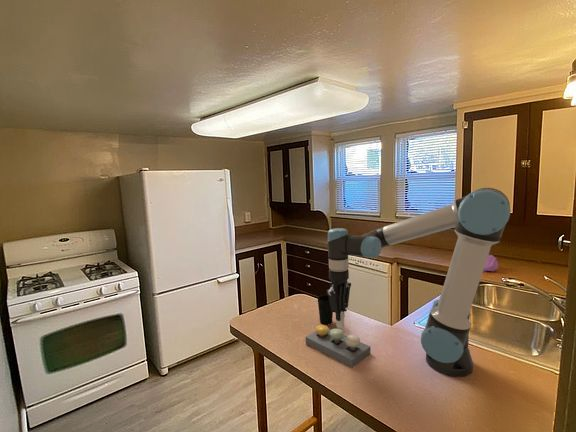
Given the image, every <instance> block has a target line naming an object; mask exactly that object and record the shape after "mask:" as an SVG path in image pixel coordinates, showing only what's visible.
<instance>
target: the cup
mask: <svg viewBox="0 0 576 432" xmlns="http://www.w3.org/2000/svg"><path fill="white" fill-rule="evenodd" d="M317 305H318V315H319V323H320V325H323V324H324V325H326V326H329V325H328V324H330V325H332V324H333V313H334V312H332V311H331V306H330V301H329V297H328V294H320V295H318V296H317ZM331 323H332V324H331Z"/></svg>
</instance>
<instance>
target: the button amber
mask: <svg viewBox="0 0 576 432" xmlns="http://www.w3.org/2000/svg"><path fill="white" fill-rule="evenodd" d="M328 326H329V325H323V324H319V325H316V327H315V331H316V333H317V334H318V335H319V336H320V337H321V338H325V335H327V334H328V333H329V329H330V328H329V327H328Z"/></svg>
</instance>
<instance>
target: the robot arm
mask: <svg viewBox="0 0 576 432" xmlns="http://www.w3.org/2000/svg"><path fill="white" fill-rule="evenodd" d="M510 205H511V204H510V201H509V198H508V196H507V195H506V194H505V193H504V192H502V191H501V190H499V189H497V188H493V187H482V188H479V189H476V190H475V191H472V192H469V193H468V194H467V195H465V196H462V197H460V198H458V199H455V200H454V201H453V203H451V204H450V205H445V206H442V207H440V208H437V209H434V210H431V211H428V212H425V213H422V214H418V215H415V216H413V217H410V218H406V219H403V220H400V221H397V222H395V223H391V224H388V225H385V226H382V227H379V228H375V229H372V230H370V231H369V232H366V233H364V234H362V235H355V234H354V235H353V234H352V235H351V234H349V233H348V231H349V230H348V229H346V228H343V227H341V228H339V227H336V228H332V229H329V230H328V231H327V251H328V252H327V253H328V255H327V256H328V268H329V269H328V279H329V281H330V288H329V289H327V290H326V291H325V293H326V295H328V297H329V301H330V306H331V311H332V312H333V313H335V321H336V328H337V329H341V330H343V329H345V317H346V316H345V313H346V312H347V311H348V310H347V309H348V307H349V301H350V293H351V286H352V283H351V282H348V280H349V279H350V275H349V274H350V270H349V256H353V257H360V258H361V257H362V258H366V259H373V258H374V259H376V258H379V256H380V254H381V252H382V248H383V249H384V248H386V247H390V246H393V245H396V244H400V243H403V242H404V243H405V242H407V241H410V240H411V241H412V240H414V239H417V238H421V237H425V236H428V235H432V234H436V233H439V232H443V231H446V230H449V229H454V232H455V234H456V236H457V240H456V243H455V246H454V250H453V253H452V256H451V261H450V263H449V267H448V270H447V273H446V276H445V280H444V283H443V287H442V290H441V293H440V296H439V299H435V300H434V301H433V303H432V306H431V308H430V311H429V314H428V318H427V320H426V324H425V328H424V329H423V331H422V332H421V335H420V336H421V337H420V344H421V346H422V349H423V350H424V351H425V361H426V363H427V365H428V366H429V367H431V368H432V369H433V370H434V371H436V372H438V373H441V374H443V375H447V376H452V377H456V378H457V377H467V376H469V375H471V374H472V373H473V371H474V361H473V358H472V355H471V351H470V348H469V341H470V340H469V336H470V330H471V327H472V323H471V315H472V314H471V308H472V306H473V302H474V299H475V296H476V293H477V290H478V287H479V285H480V281H481V278H482V275H483V273H484V272H483V270H484V267H485V264H486V261H487V258H488V255H489V254H490V251H491V249H492V248H491V247H492V246H493V245H496V244H499V243H500V241H501V239H502V237H503V232H504V230H505V227H506V225H507V223H508V222H509V221H510V220H509V219H510V218H511V217H510V216H511V206H510Z"/></svg>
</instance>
